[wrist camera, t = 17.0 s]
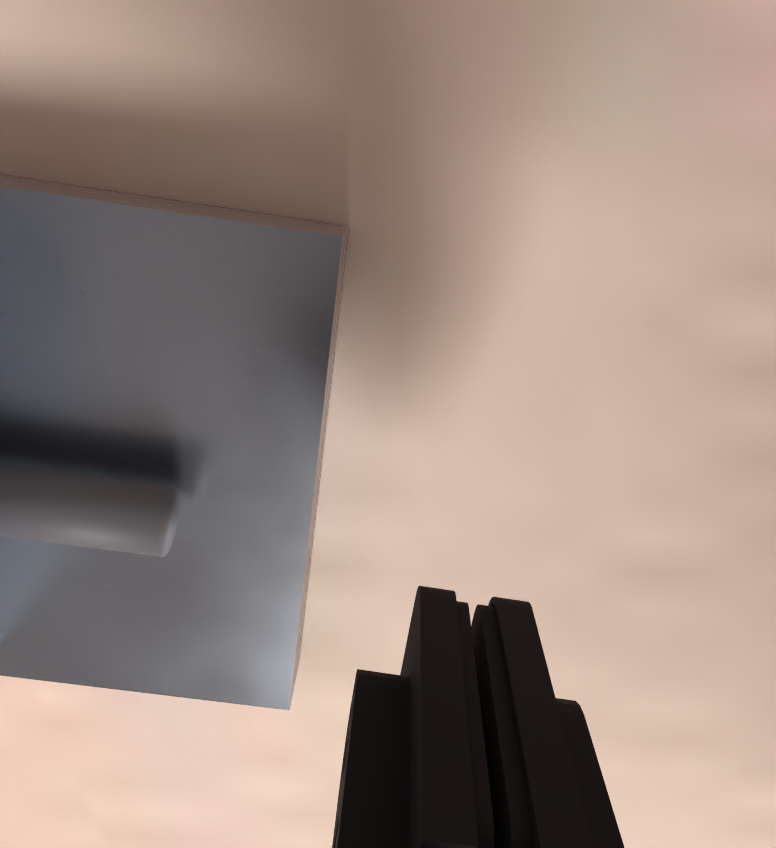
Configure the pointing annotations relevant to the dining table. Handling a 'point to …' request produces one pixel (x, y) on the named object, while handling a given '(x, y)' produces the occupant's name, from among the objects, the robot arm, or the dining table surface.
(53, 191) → the vise bed
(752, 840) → the dining table surface
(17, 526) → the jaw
